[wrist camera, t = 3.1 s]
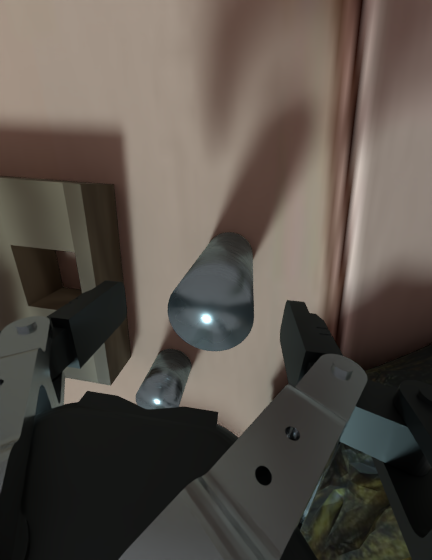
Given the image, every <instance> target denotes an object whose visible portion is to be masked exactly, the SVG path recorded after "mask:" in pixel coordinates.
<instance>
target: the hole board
mask: <svg viewBox="0 0 432 560" xmlns="http://www.w3.org/2000/svg"><path fill="white" fill-rule="evenodd" d="M55 250H60V251H69V252H75V257H76V262H77V268H78V273H79V279H80V284H81V290H80V289H72V288H65V287H63V285H62V280H61V276H60V271H59V266H58V261H57V257H56V252H55ZM106 280H109V281H118V282H122V283H123V273H122V263H121V253H120V243H119V233H118V223H117V213H116V203H115V193H114V184H100V183H87V182H74V181H61V180H48V179H35V178H21V177H8V176H0V331H2V330H3V329H4V327H6V326H7V325H9V324H10V323H12V322H14V321H17V320H20V319H23V318H27V317H32V316H44V317H47V316H49V315H50V314H52V313H53V312H55V311H56V310H58V309H59V308H61V307H62V306H64V305H65V304H67V303H68V304H69V302H70V301H71V300H73V299H76V297H78V296H79V295H81V294H82V293H84V292H86V291H89V290H92V289H93V288H95V287H96V286H98V285H99V284H101V283H102V282H104V281H106ZM123 284H124V283H123ZM130 358H131V354H130V344H129V334H128V324H127V314H126V318H125V320H124V321H123V323H122V324H121V325H120V326H119V327H118V328H117V329H116V330H115V331H114V332H113V334H112V335H111V336H110V337H109V338H108V339H107V340H106V341H105V342H104V343H103V344H102V346H101V347H100V348H99V349H98V350H97V351H96V352H95V353H94V354H93V355H92V357H91V358H90V359H89V360H88V361H87V362H86V363H85V364H84V365H83V366H82V367H81V369H78V368H72V367H66V368H65V369H64V374H65V377H66V378H71V379H77V380H83V381H89V382H94V383H100V384H106V385H111V384H112V383H113V382H114V380H115V379H116V377H117V376H118V375H119V373H120V372H121V370H122V369H123V367H124V366H125V365H126V363H127V362H128V360H129V359H130Z"/></svg>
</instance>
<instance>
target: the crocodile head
mask: <svg viewBox="0 0 432 560" xmlns="http://www.w3.org/2000/svg"><path fill="white" fill-rule="evenodd" d="M365 373H366V375H367V379H369V380H372V381H374V382H377V383H380V384H383V385H385V386H388V387H391V388H394V389H397V390H398V388H399V386H400V384H401V382H402V381H405V380H417V381H421V382H424V383H427V384H429V385H432V344H431V345H429V346H427V347H425V348H422V349H420V350H418V351H416V352H413V353H411V354H409V355H406V356H404V357H401V358H399V359H396V360H394V361H391V362H388V363H386V364H383V365H381V366H378V367H375V368H372V369H369V370H366V371H365ZM301 533H302V535H303V536H304V538H305V540H306V541H307V543H308V544H309V546H310V548H311V549H312V551H313V553H314V554H315V556H316V557H317V559H318V560H412V558H411V556H410V553H409V551H408V548H407V546H406V543H405V541H404V538H403V536H402V533H401V531H400V528H399V526H398V523H397V520H396V518H395V515H394V513H393V510H392V508H391V505H390V503H389V500H388V498H387V495H386V493H385V490H384V488H383V485H382V483H381V480H380V477H379V475H378V472H377V470H376V467H375V465H374V462H373V460H372V457H371V456H370V455H367V454H365V453H363V452H361V451H359V450H357V449H355V448H352V447H350V446H348V445H346V444H344V443H342V442H341V444H340V446H339V448H338V450H337V452H336V455H335V457H334V459H333V461H332V463H331V465H330V467H329V469H328V472H327V474H326V476H325V478H324V480H323V482H322V484H321V487H320V489H319V491H318V493H317V495H316V498H315V500H314V502H313V504H312V507H311V509H310V511H309V513H308V515H307V518H306V520H305V522H304V524H303V526H302V528H301Z"/></svg>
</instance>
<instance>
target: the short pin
mask: <svg viewBox="0 0 432 560" xmlns="http://www.w3.org/2000/svg"><path fill="white" fill-rule="evenodd" d="M190 371H191V361H190V359H189V358H188V357H187V355H185V354H184V353H183V352H181V351H179V350H176V349H166V350H163V351H161V352H160V353H159V354H158V356H157V358H156V359H155V361H154V363H153V365H152V367H151V368H150V370H149V372H148V374H147V376H146V377H145V379H144V381H143V383H142V385H141V386H140V388H139V390H138V392H137V394H136V402H137V405H138V406H140V407H142V408H145V409H162V408H175V407H179V404H180V401H181V398H182V395H183V392H184V389H185V386H186V383H187V380H188V377H189V374H190Z"/></svg>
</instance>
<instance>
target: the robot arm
mask: <svg viewBox="0 0 432 560" xmlns="http://www.w3.org/2000/svg"><path fill="white" fill-rule="evenodd" d="M126 314H127V306H126V297H125V288H124V284H123V283H122V282H118V281H109V280H106V281H104V282H102V283H101V284H99V285H98V286H96V287H95V288H93V289H92V290H89V291H86V292H84V293H82V294H81V295H79V296H78V297H76V299H73V300H71V301H70V302H69V304H68V303H67V304H65V305H64V306H62V307H61V308H59V309H58V310H56V311H55V312H53V313H52V314H50V315H49V316H47V317H44V316H32V317H27V318H23V319H20V320H17V321H14V322H12V323H10V324H9V325H7V326H6V327H4V329H3V330H2V331H0V560H318V559H317V557H316V556H315V554H314V553H313V551H312V549H311V548H310V546H309V544H308V543H307V541H306V540H305V538H304V536H303V535H302V533H301V528H302V526H303V524H304V522H305V520H306V518H307V515H308V513H309V511H310V509H311V507H312V504H313V502H314V500H315V498H316V495H317V493H318V491H319V489H320V487H321V484H322V482H323V480H324V478H325V476H326V474H327V472H328V469H329V467H330V465H331V463H332V461H333V459H334V457H335V455H336V452H337V450H338V448H339V446H340V444H341V442H342V443H344V444H346V445H348V446H350V447H352V448H355V449H357V450H359V451H361V452H363V453H365V454H367V455H370V456H371V457H372V460H373V462H374V465H375V467H376V470H377V472H378V475H379V477H380V480H381V483H382V485H383V488H384V490H385V493H386V495H387V498H388V500H389V503H390V505H391V508H392V510H393V513H394V515H395V518H396V520H397V523H398V526H399V528H400V531H401V533H402V536H403V538H404V541H405V543H406V546H407V548H408V551H409V553H410V556H411V558H412V560H432V385H429V384H427V383H424V382H421V381H417V380H405V381H402V382H401V384H400V386H399V388H398V390H397V389H394V388H391V387H388V386H385V385H383V384H380V383H377V382H374V381H372V380H369V379H367V375H366V373H365V371H364V370H363V369H362V367H360V366H359V365H358V364H357V363H356V362H354V361H353V360H351V359H349V358H347V357H344V356H343V355H342V353H341V351H340V349H339V347H338V346H337V344H336V342H335V340H334V338H333V337H332V336H331V333H330V331H329V330H328V328H327V326H326V324H325V322H324V321H323V320H322V319H321V318H320V317H319V316H317V315H316V314H312V313H309V311H308V309H307V307H306V304H305V303H304V302H299V301H290V300H287V302H286V305H285V309H284V314H283V319H282V324H281V330H280V343H281V348H282V353H283V358H284V363H285V368H286V373H287V378H288V383H289V384H288V385H286V386H285V387H284V388H283V389H282V391H281V392H280V393H279V394H278V395H277V396H276V397H275V398H274V399H273V401H272V402H271V403H270V404H269V405H268V406H267V407H266V408H265V409H264V410H263V412H262V413H261V414H260V415H259V416H258V417H257V418H256V419H255V420H254V422H253V423H252V424H251V425H250V426H249V427H248V428H247V429H246V430H245V432H244V433H243V434H242V435H241V436H240V437H239V438H238V437H237V436H236V435H234V434H233V433H232V432H231V431H229V430H227V429H226V428H224V427H222V426H220V425H218V424H217V418H218V412H214V411H208V410H202V409H195V408H189V407H175V408H162V409H145V408H142V407H140V406H138V405H136V404H134V403H132V402H130V401H128V400H125V399H123V398H121V397H119V396H115V395H109V394H103V393H96V392H90V391H87V392H86V393H85V395H84V396H83V397H82V398H81V400H80V401H79V402H76V403H70V404H65V405H64V389H65V374H64V369H65V368H66V367H72V368H78V369H81V367H82V366H83V365H84V364H85V363H86V362H87V361H88V360H89V359H90V358H91V357H92V355H93V354H94V353H95V352H96V351H97V350H98V349H99V348H100V347H101V346H102V344H103V343H104V342H105V341H106V340H107V339H108V338H109V337H110V336H111V335H112V334H113V332H114V331H115V330H116V329H117V328H118V327H119V326H120V325H121V324H122V323H123V321H124V320H125V318H126Z"/></svg>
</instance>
